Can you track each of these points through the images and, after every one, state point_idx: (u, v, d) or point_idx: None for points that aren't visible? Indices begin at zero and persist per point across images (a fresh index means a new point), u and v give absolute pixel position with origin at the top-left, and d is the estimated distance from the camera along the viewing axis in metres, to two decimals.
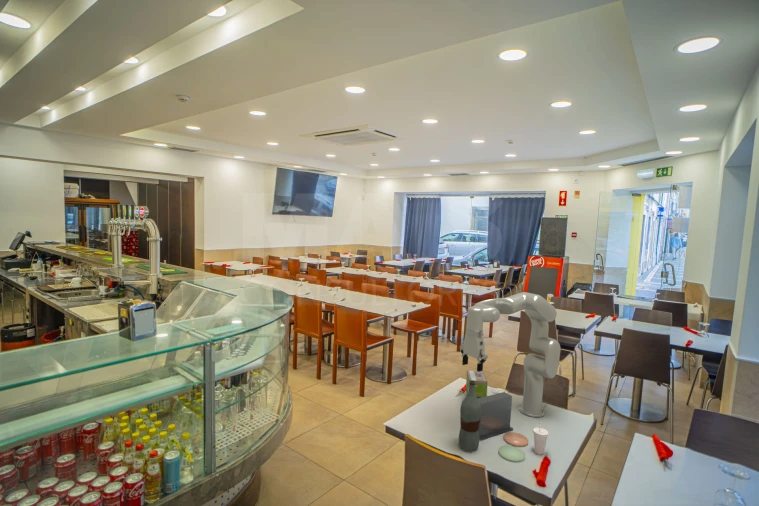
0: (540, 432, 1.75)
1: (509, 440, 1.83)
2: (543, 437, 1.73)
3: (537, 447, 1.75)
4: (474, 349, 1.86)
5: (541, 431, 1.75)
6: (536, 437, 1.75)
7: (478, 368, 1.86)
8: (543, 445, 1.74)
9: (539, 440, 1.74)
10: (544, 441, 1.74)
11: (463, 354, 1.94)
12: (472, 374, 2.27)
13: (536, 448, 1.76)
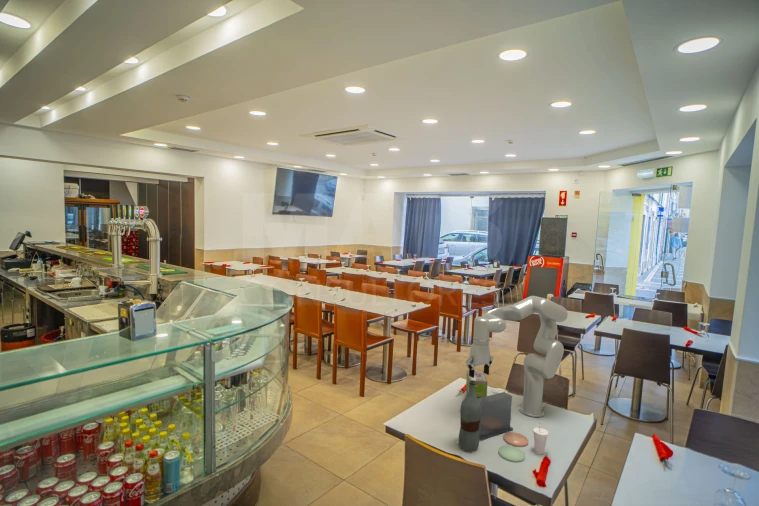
0: (540, 432, 1.75)
1: (509, 440, 1.83)
2: (543, 437, 1.73)
3: (537, 447, 1.75)
4: (487, 356, 1.99)
5: (541, 431, 1.75)
6: (536, 437, 1.75)
7: None
8: (543, 445, 1.74)
9: (539, 440, 1.74)
10: (544, 441, 1.74)
11: (473, 367, 1.96)
12: None
13: (536, 448, 1.76)
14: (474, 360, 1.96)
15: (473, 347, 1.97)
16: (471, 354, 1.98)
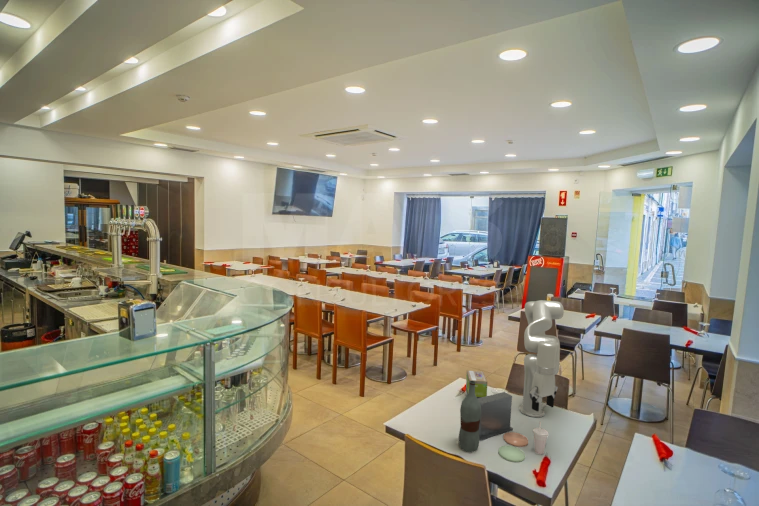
0: (540, 432, 1.75)
1: (509, 440, 1.83)
2: (543, 437, 1.73)
3: (537, 447, 1.75)
4: (553, 386, 1.74)
5: (541, 431, 1.75)
6: (536, 437, 1.75)
7: None
8: (543, 445, 1.74)
9: (539, 440, 1.74)
10: (544, 441, 1.74)
11: (538, 399, 1.71)
12: (472, 374, 2.27)
13: (536, 448, 1.76)
14: (539, 391, 1.71)
15: (537, 376, 1.72)
16: (535, 384, 1.72)
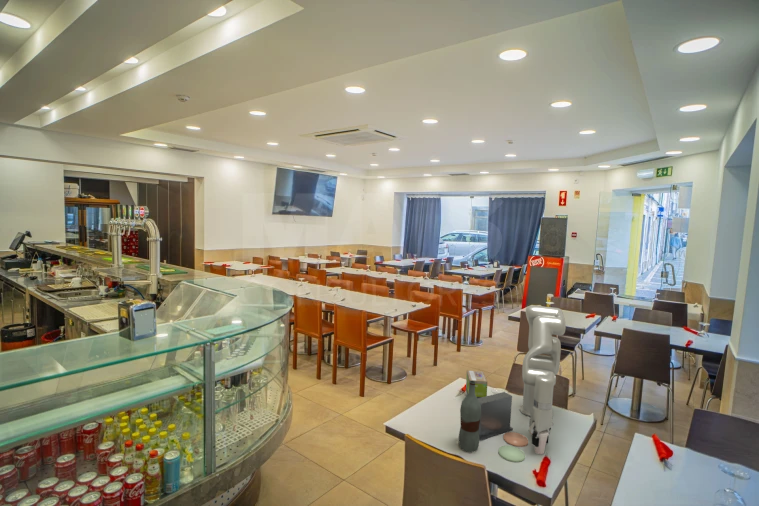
0: (540, 432, 1.75)
1: (509, 440, 1.83)
2: (543, 437, 1.73)
3: (537, 447, 1.75)
4: (550, 420, 1.75)
5: (541, 431, 1.75)
6: None
7: None
8: (543, 445, 1.74)
9: (539, 440, 1.74)
10: (544, 441, 1.74)
11: (537, 435, 1.73)
12: (472, 374, 2.27)
13: (536, 448, 1.76)
14: (536, 426, 1.72)
15: (535, 411, 1.73)
16: (532, 418, 1.74)
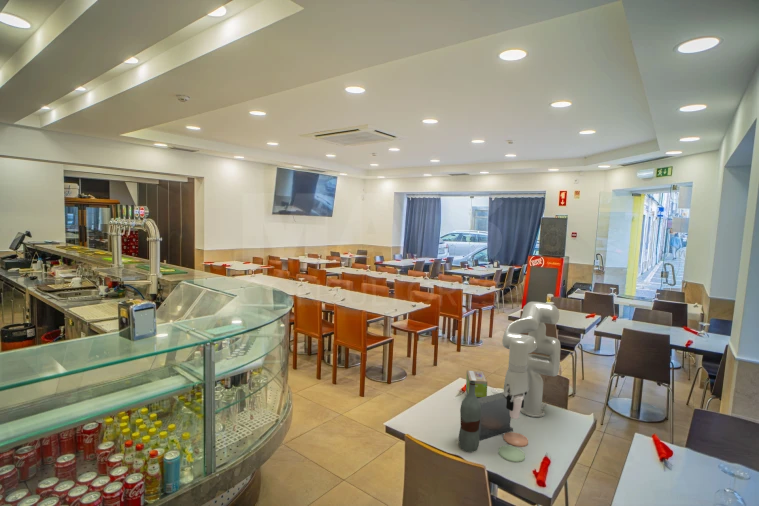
0: (515, 396, 1.70)
1: (509, 440, 1.83)
2: (518, 401, 1.69)
3: (512, 411, 1.71)
4: (525, 384, 1.71)
5: (516, 395, 1.71)
6: None
7: None
8: (518, 409, 1.70)
9: (514, 404, 1.70)
10: (519, 405, 1.70)
11: (512, 398, 1.69)
12: (472, 374, 2.27)
13: (511, 412, 1.71)
14: (511, 389, 1.68)
15: (509, 374, 1.69)
16: (507, 382, 1.70)
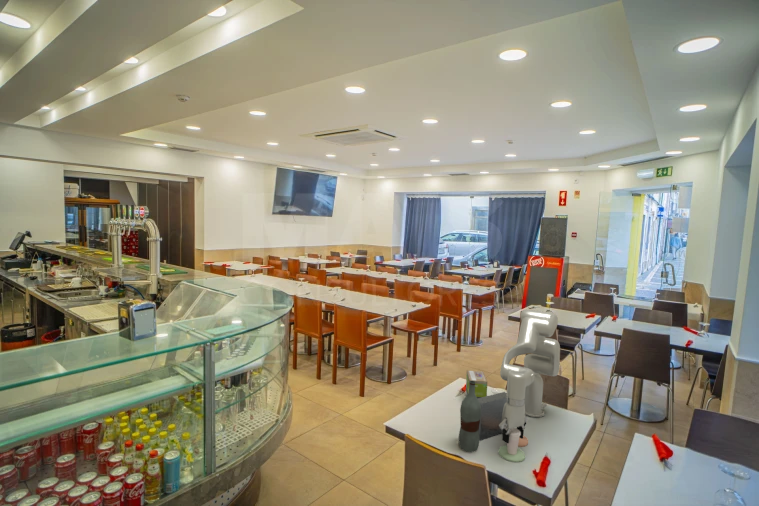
0: (512, 432, 1.72)
1: None
2: (515, 437, 1.70)
3: (509, 447, 1.72)
4: (523, 417, 1.72)
5: (513, 431, 1.73)
6: None
7: None
8: (515, 445, 1.71)
9: (511, 440, 1.71)
10: (516, 441, 1.71)
11: (508, 431, 1.69)
12: (472, 374, 2.27)
13: (508, 448, 1.72)
14: (508, 423, 1.69)
15: (507, 407, 1.70)
16: (504, 415, 1.71)
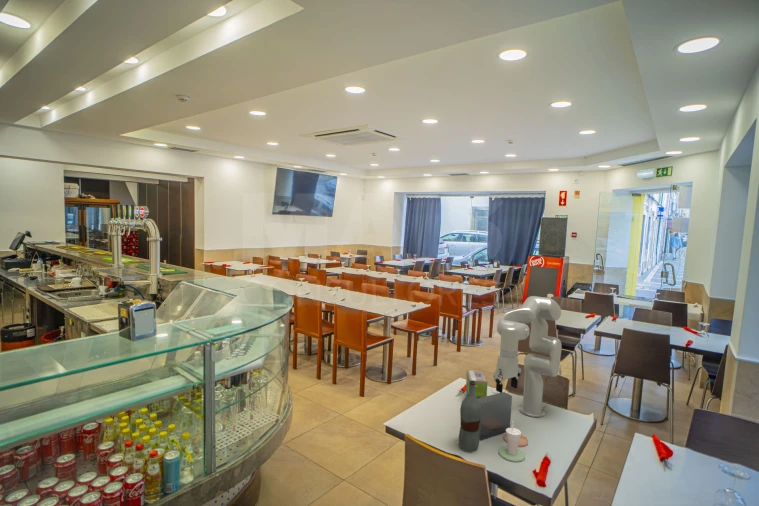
0: (512, 432, 1.72)
1: None
2: (515, 437, 1.70)
3: (510, 447, 1.72)
4: (516, 368, 1.80)
5: (514, 431, 1.72)
6: (508, 437, 1.72)
7: None
8: (515, 445, 1.71)
9: (511, 440, 1.71)
10: (516, 441, 1.71)
11: (501, 381, 1.77)
12: (472, 374, 2.27)
13: (509, 448, 1.72)
14: (502, 373, 1.76)
15: (501, 359, 1.77)
16: (498, 367, 1.78)
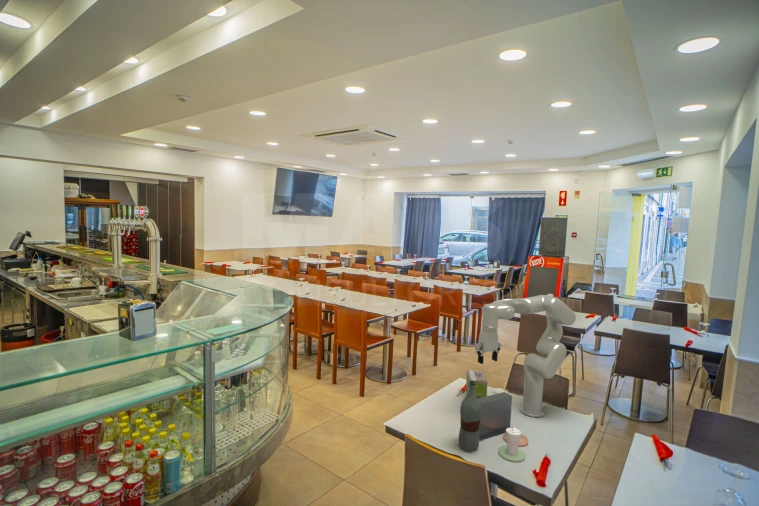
0: (513, 432, 1.72)
1: None
2: (515, 437, 1.70)
3: (510, 447, 1.72)
4: (496, 342, 2.01)
5: (514, 431, 1.72)
6: (508, 437, 1.72)
7: None
8: (515, 445, 1.71)
9: (511, 440, 1.71)
10: (516, 441, 1.71)
11: (482, 353, 1.99)
12: (472, 374, 2.27)
13: (509, 448, 1.72)
14: (483, 346, 1.98)
15: (482, 334, 1.99)
16: (480, 341, 2.00)
